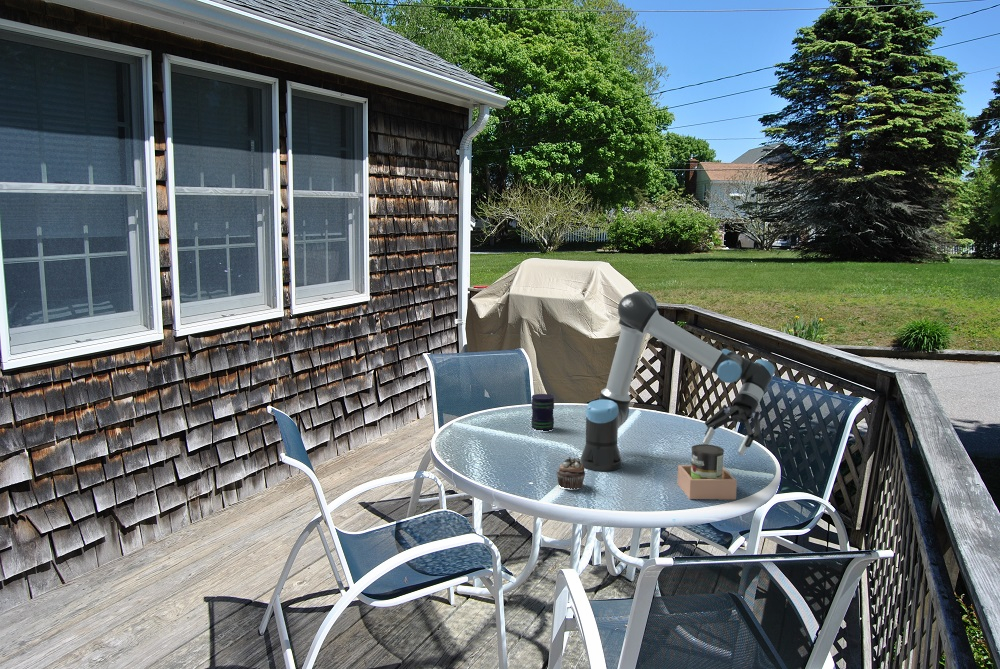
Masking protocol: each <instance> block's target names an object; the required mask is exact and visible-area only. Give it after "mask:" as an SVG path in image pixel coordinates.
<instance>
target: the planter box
mask: <svg viewBox="0 0 1000 669" xmlns="http://www.w3.org/2000/svg"><path fill="white" fill-rule="evenodd" d="M676 481H677V482H676V484H677V485H678V487H679V488H680V490H682V492H683V491H684V492H683V493H684V494H685V496H686V495H687V496H686V497H687V499H688V500H690V499H719V500H737V487H738V486H737V483H738V480H737V478H735V477H734V476H733V474H731V473H730V472H729V471H728V470H727V469H726V468H725V467H724V466H723V471H722V479H692V478H691V464H689V465H688V464H683V465H682V464H681V465H680V464H678V465H677V480H676ZM719 500H718V501H719Z"/></svg>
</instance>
